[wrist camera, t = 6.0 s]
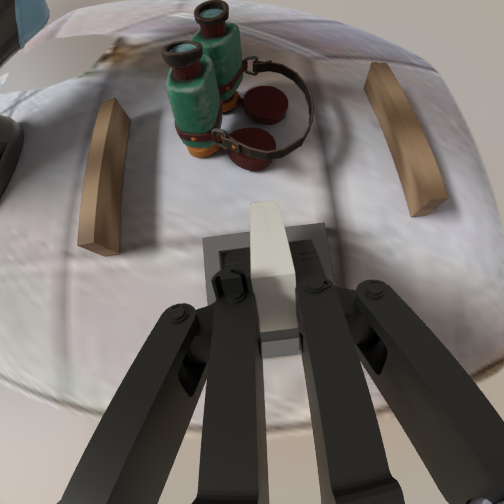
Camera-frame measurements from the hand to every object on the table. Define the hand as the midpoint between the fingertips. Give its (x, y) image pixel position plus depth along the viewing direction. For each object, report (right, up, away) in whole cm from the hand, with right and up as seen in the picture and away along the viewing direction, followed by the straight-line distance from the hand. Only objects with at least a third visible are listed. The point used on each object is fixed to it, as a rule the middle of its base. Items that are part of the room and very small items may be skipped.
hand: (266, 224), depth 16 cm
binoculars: (-1, +8, +6) cm, 10 cm away
